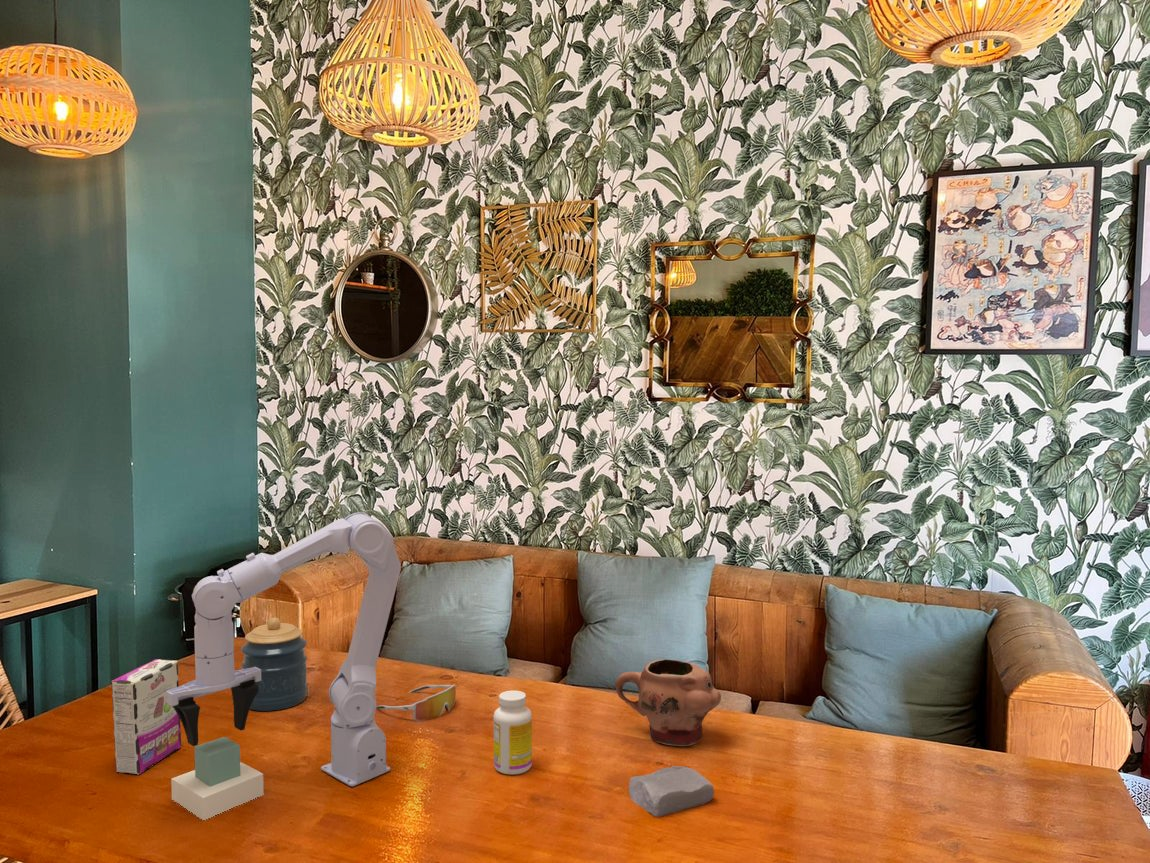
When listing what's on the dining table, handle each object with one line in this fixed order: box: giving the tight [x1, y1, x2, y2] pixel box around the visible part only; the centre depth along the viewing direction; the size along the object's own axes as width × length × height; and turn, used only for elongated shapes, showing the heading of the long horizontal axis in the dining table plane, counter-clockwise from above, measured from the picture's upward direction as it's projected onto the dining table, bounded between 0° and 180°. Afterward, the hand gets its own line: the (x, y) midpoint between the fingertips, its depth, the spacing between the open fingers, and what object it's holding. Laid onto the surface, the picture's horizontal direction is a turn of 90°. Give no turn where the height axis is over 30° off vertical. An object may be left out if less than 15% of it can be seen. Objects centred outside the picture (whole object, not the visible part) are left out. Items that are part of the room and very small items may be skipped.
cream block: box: [170, 761, 265, 821], centre depth 133 cm, size 10×10×4 cm
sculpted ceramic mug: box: [614, 658, 722, 747], centre depth 156 cm, size 20×12×14 cm, turn 80°
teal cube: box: [194, 736, 241, 787], centre depth 133 cm, size 5×5×5 cm
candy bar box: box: [111, 658, 182, 776], centre depth 146 cm, size 11×5×16 cm, turn 168°
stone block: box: [628, 765, 715, 818], centre depth 134 cm, size 12×5×10 cm
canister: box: [240, 617, 308, 712], centre depth 173 cm, size 13×13×18 cm
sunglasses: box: [376, 683, 456, 722], centre depth 171 cm, size 14×15×5 cm
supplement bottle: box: [493, 690, 533, 776], centre depth 144 cm, size 7×7×13 cm
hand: (216, 735), depth 133 cm, fingers open, 7 cm apart
